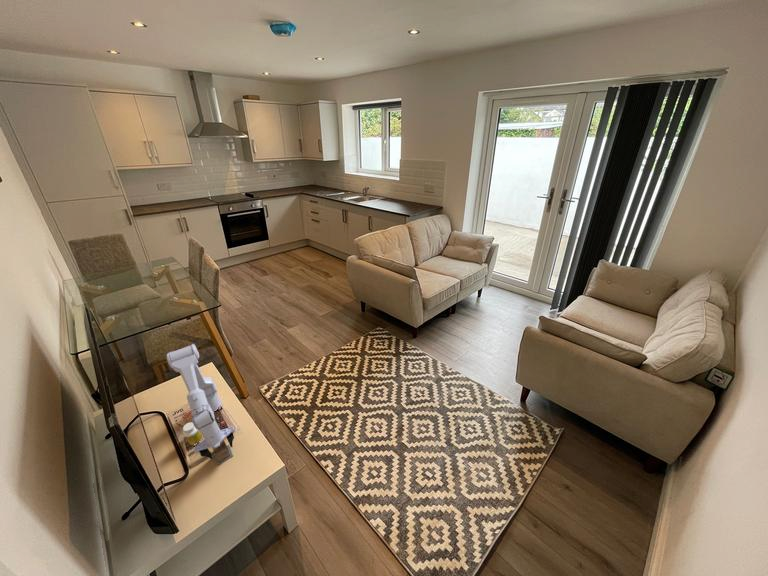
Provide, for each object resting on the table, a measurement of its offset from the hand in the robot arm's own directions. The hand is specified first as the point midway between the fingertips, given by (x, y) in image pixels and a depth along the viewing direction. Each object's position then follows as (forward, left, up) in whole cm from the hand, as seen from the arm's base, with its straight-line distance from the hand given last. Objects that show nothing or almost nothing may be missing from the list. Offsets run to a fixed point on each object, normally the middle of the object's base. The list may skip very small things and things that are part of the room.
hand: (221, 450), depth 125 cm
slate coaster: (0, 0, -3) cm, 3 cm away
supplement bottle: (-14, -8, -3) cm, 17 cm away
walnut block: (0, 0, -3) cm, 3 cm away
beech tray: (-10, -6, -3) cm, 12 cm away
